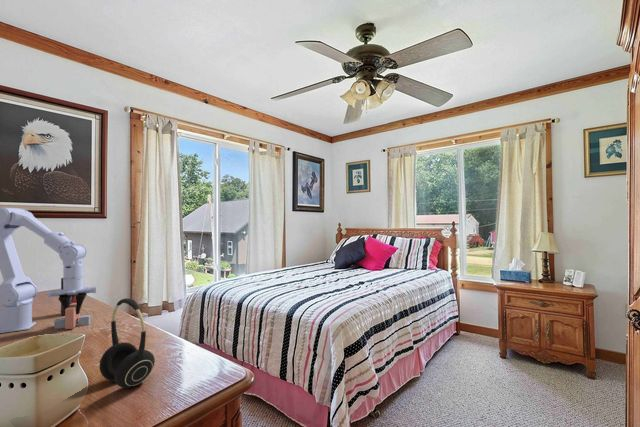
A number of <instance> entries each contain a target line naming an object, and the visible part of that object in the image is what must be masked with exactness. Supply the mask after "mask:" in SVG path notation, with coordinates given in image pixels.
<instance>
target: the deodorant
mask: <svg viewBox="0 0 640 427" xmlns="http://www.w3.org/2000/svg"><path fill="white" fill-rule="evenodd" d="M62 289H63V277H61V278H60V290H62ZM76 293H79V292H76ZM66 294H67V293H66ZM77 295H78V294H75V295H70V305H71V304H72V303H76V296H77ZM60 316H63V317H65V310H64V307H63V305H62V304H61V303H60Z"/></svg>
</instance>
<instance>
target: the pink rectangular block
mask: <svg viewBox="0 0 640 427" xmlns="http://www.w3.org/2000/svg"><path fill="white" fill-rule="evenodd" d="M76 308H77V303H72V304H71V305H70V306H69V307H68V308H66V309H65V316H64V318H65V328H64V330H71V329H74V328H75V327H77V326H76V322H79V317H80V316H81V312H80V313H79V314H76Z"/></svg>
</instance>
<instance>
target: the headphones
mask: <svg viewBox="0 0 640 427" xmlns="http://www.w3.org/2000/svg"><path fill="white" fill-rule="evenodd" d="M122 304H127V305H129V306H130V307H131V308H132V309H133V310H134V311H136V313H137V315H138V318H139V320H140V325H141V331H140V342H139V346H138V349H137V347H136V346H135V345H134V344H131V343H129V342H126V341H125V342H119V336H118V332H117V321H116V314H117V311H118V309H119V307H120V306H121V305H122ZM139 306H140V305H139V304H138V303H137V302H136V301H135V300H134V299H133V298H123V299H120V300H119V301H117V302H116V306H115V307H114V309H113V312H112V315H111V321H110V322H111V323H110V326H111V327H110V328H111V329H110V332H111V342H112V343H111V344H112V345H111V346H109V348H108V349H106V350H105V351H104V353H103V354H102V356H101V358H100V360H99V372H100V374H101V375H102V377H103V378H104V379H106V380H108V381H110V382H115V383H116V384H115V385H117V386H119V387H120V388H123V389H127V388H126V387H129V388H132V387H131V386H133V387H135V386H137V385H140V384H141V383H143V382H144V381H145V380H146V379H147V378H149V376H150V374H151V372H152V371H153V369H154V366H155V361H156V359H155V356H154V354H153V353H152V352H151V351H150V350H147V349H146V341H147V340H146V338H147V334H146V333H147V332H146V325H145V320H144V317H143V314H142V312H141V311H140V307H139Z"/></svg>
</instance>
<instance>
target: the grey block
mask: <svg viewBox="0 0 640 427" xmlns="http://www.w3.org/2000/svg"><path fill="white" fill-rule="evenodd" d="M90 323H91V315H90V314H87V315H80V317H79V322H76V326H75V327H81V326H88V325H89V326H90ZM57 329H65V317H60V318H56V319H55V320H54V330H57Z"/></svg>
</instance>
